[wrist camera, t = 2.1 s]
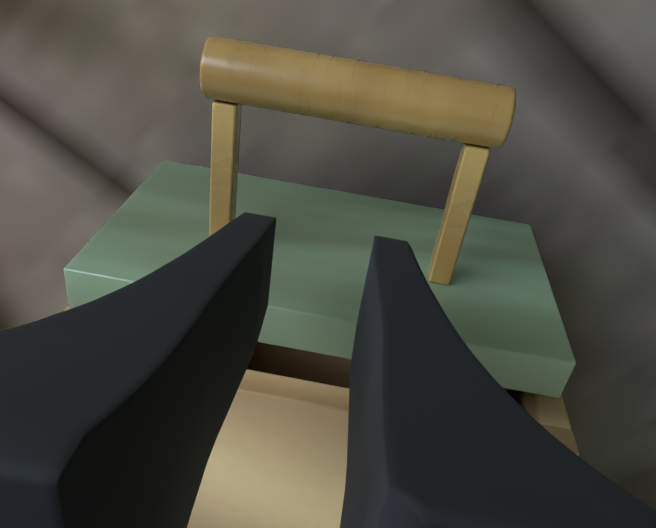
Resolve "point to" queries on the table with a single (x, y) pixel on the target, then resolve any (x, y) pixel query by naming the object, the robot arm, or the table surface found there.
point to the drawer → (345, 219)
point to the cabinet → (299, 453)
